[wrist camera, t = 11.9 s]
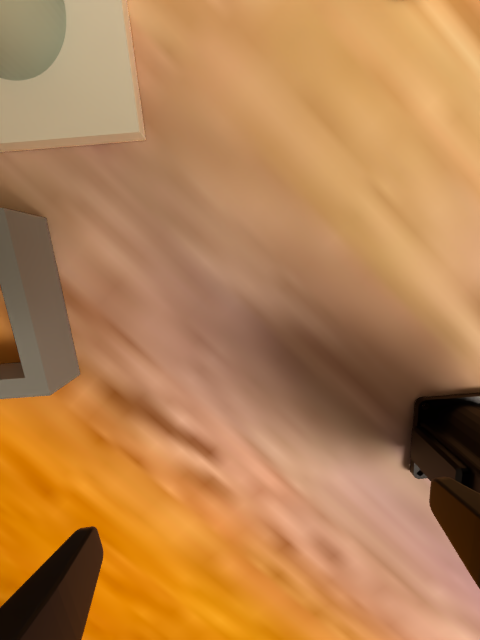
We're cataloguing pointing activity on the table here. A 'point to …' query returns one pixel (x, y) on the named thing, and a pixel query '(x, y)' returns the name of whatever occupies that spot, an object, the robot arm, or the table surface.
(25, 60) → the grey domed cup
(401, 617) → the table surface
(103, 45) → the plate
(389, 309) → the table surface
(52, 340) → the holder
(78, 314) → the table surface
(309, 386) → the table surface
